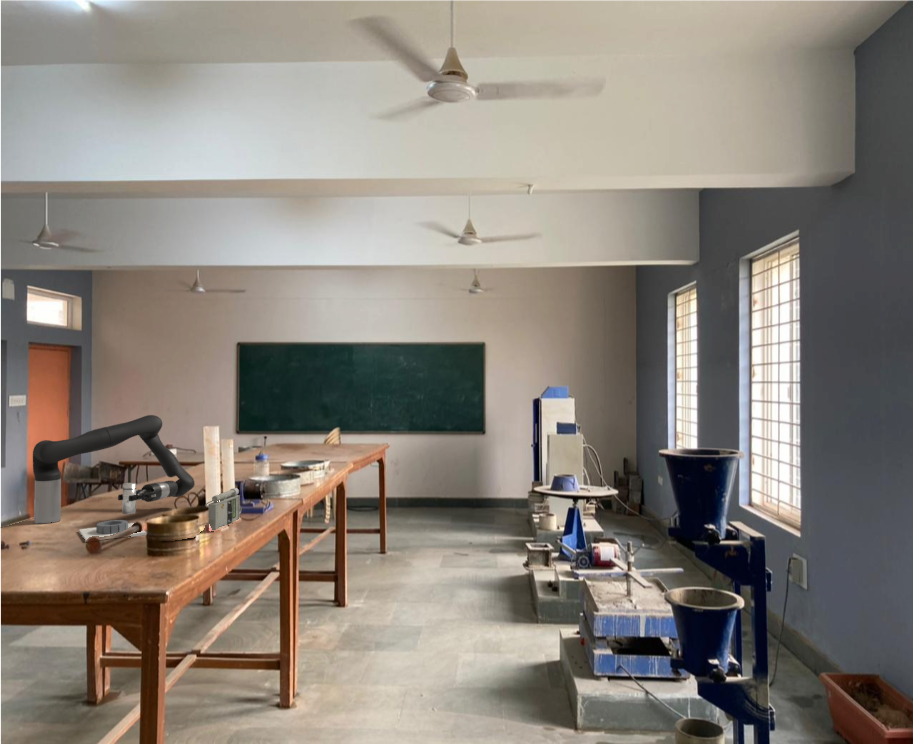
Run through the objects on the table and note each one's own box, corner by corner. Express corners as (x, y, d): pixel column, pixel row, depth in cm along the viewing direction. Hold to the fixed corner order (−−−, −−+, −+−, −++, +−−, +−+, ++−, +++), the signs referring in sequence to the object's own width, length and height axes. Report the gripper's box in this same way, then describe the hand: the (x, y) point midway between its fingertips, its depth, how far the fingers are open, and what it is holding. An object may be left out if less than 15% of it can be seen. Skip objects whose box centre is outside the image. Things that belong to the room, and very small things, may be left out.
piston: (123, 514, 269) (123, 485, 269) (121, 512, 273) (121, 483, 273) (137, 513, 272) (137, 484, 272) (134, 511, 276) (135, 482, 276)
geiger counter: (218, 496, 258) (248, 485, 282) (202, 495, 259) (234, 485, 283) (217, 532, 258) (247, 518, 282) (202, 531, 259) (233, 517, 283)
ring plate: (86, 542, 241) (86, 531, 241) (78, 531, 257) (79, 521, 257) (146, 535, 253) (146, 524, 253) (135, 525, 269) (135, 515, 269)
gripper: (142, 481, 289) (110, 487, 273) (169, 483, 284) (138, 490, 268) (142, 499, 289) (110, 506, 273) (168, 501, 284) (137, 508, 268)
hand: (124, 498), depth 270 cm, fingers closed on piston, 5 cm apart
